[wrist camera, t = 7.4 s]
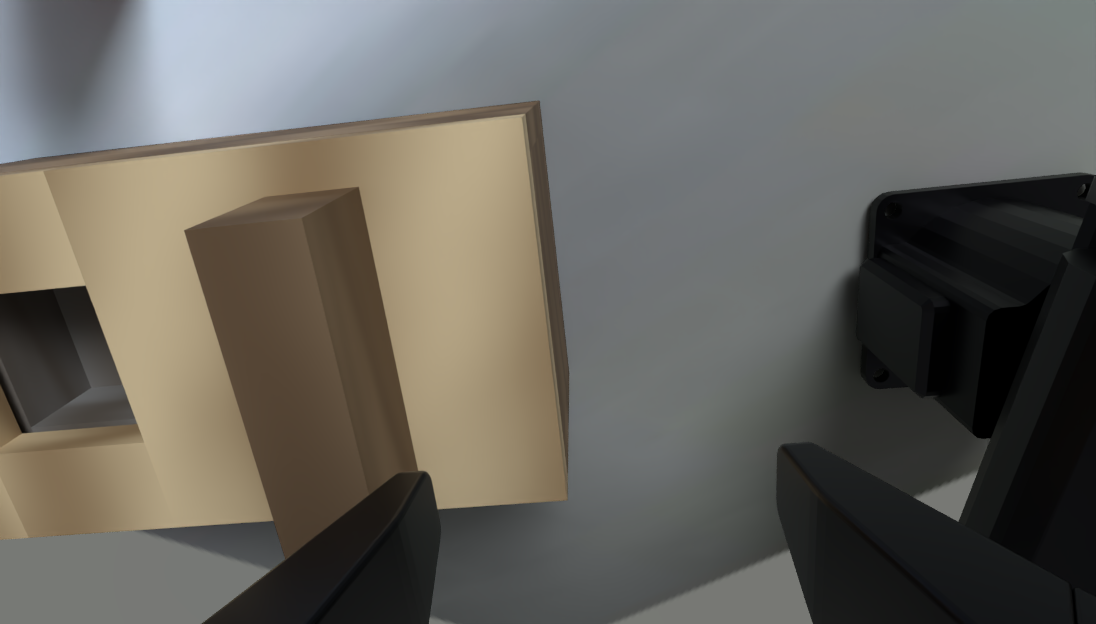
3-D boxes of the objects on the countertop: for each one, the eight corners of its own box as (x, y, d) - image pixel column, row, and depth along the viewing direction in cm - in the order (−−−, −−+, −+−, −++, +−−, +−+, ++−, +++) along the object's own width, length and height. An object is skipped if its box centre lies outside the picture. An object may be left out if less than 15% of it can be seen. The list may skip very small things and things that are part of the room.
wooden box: (539, 100, 19) (525, 113, 14) (569, 372, 23) (567, 474, 17) (36, 158, 21) (-166, 191, 15) (130, 409, 24) (-8, 515, 18)
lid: (525, 114, 14) (507, 130, 10) (567, 476, 17) (566, 592, 13) (-171, 192, 15) (-422, 233, 11) (-11, 517, 18) (-165, 636, 14)
